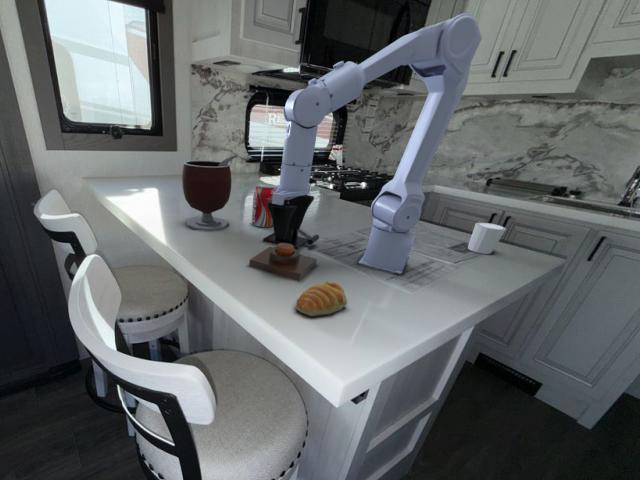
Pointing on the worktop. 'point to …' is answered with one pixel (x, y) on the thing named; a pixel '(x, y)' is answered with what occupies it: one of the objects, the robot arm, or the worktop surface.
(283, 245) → the button
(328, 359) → the worktop surface
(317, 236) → the switch lever
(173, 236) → the worktop surface
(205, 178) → the mate gourd
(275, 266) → the switch block
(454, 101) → the robot arm
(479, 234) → the white cylinder
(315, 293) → the pastry
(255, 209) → the soda can
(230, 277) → the worktop surface
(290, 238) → the switch bracket
